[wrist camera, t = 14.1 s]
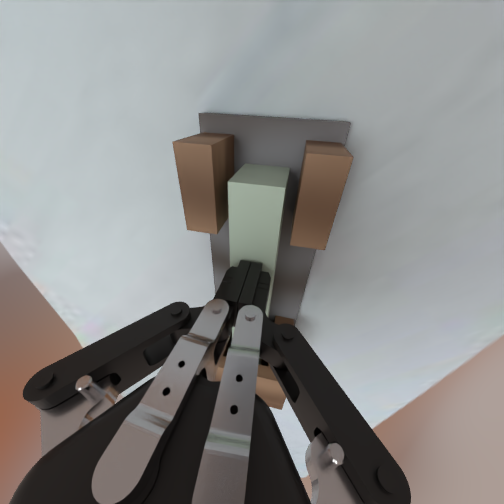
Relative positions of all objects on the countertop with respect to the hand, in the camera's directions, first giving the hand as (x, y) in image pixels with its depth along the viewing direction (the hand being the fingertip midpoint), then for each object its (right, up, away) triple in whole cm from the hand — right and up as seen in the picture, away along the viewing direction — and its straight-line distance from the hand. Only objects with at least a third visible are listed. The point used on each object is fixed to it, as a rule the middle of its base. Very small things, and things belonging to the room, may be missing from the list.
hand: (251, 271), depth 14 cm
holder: (+1, 0, +6) cm, 6 cm away
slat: (+1, -1, +6) cm, 6 cm away
